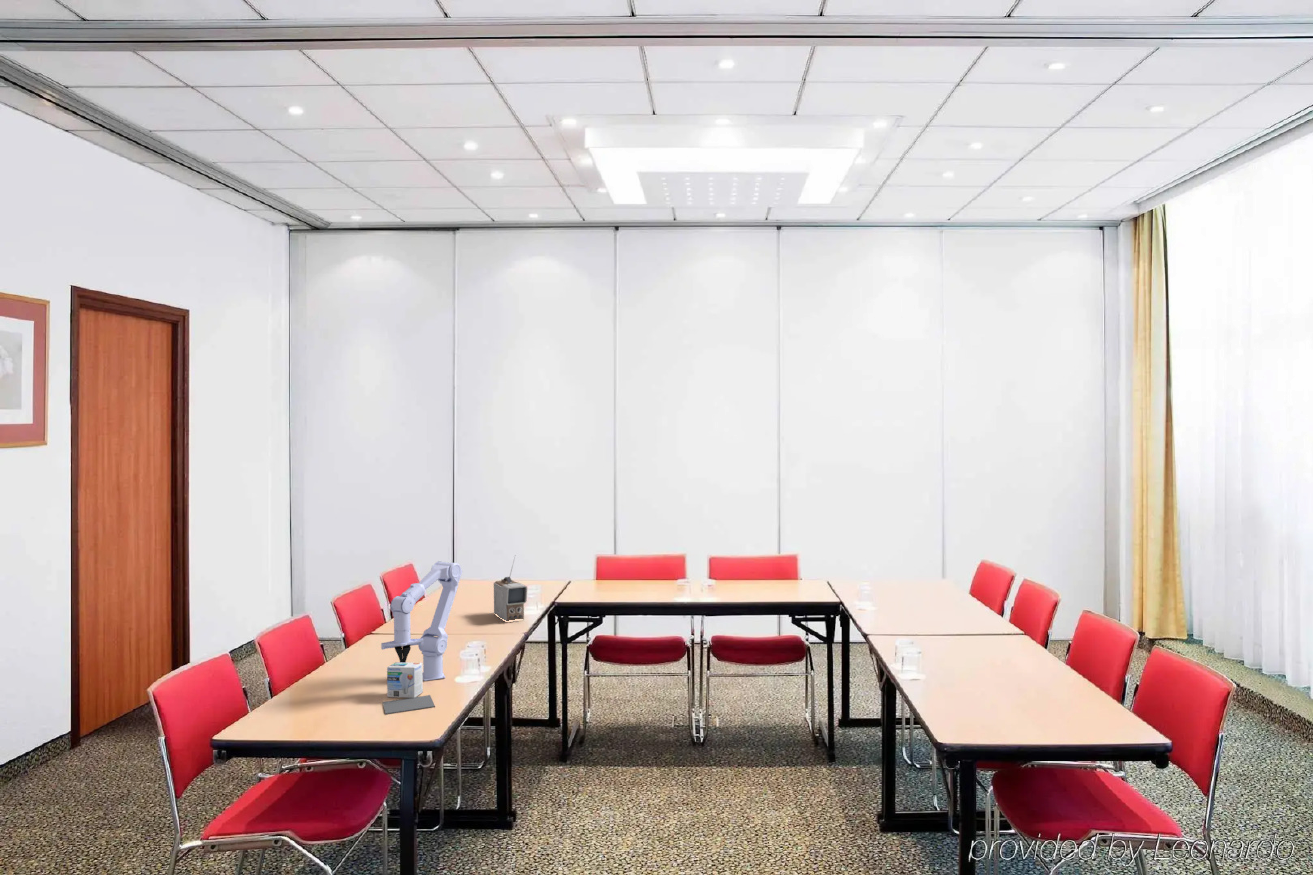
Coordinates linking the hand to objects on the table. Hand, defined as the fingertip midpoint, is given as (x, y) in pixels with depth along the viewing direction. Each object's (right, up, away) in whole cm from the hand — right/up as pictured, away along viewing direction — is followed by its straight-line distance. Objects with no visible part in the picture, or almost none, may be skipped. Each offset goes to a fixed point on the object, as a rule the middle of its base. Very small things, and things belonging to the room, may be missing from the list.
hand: (402, 666), depth 282 cm
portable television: (+20, -7, +105) cm, 107 cm away
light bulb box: (+3, -9, -7) cm, 11 cm away
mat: (+7, -9, -16) cm, 20 cm away
